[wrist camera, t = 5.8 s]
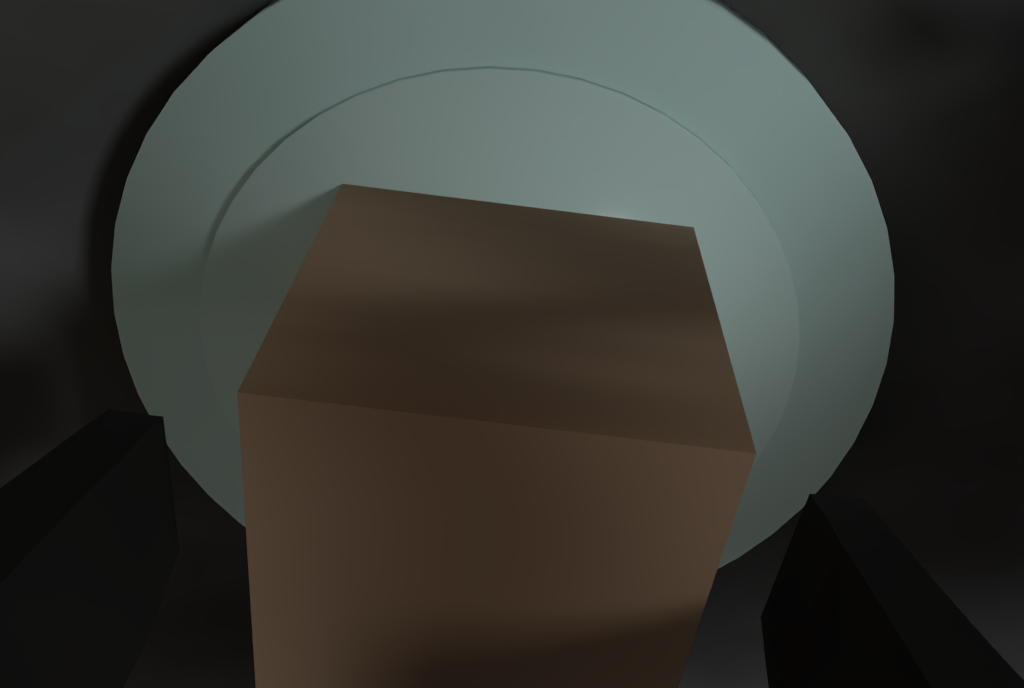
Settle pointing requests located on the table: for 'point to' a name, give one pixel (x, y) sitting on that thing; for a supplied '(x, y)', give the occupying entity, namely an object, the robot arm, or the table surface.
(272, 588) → the block
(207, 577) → the table surface
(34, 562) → the robot arm
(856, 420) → the dish
